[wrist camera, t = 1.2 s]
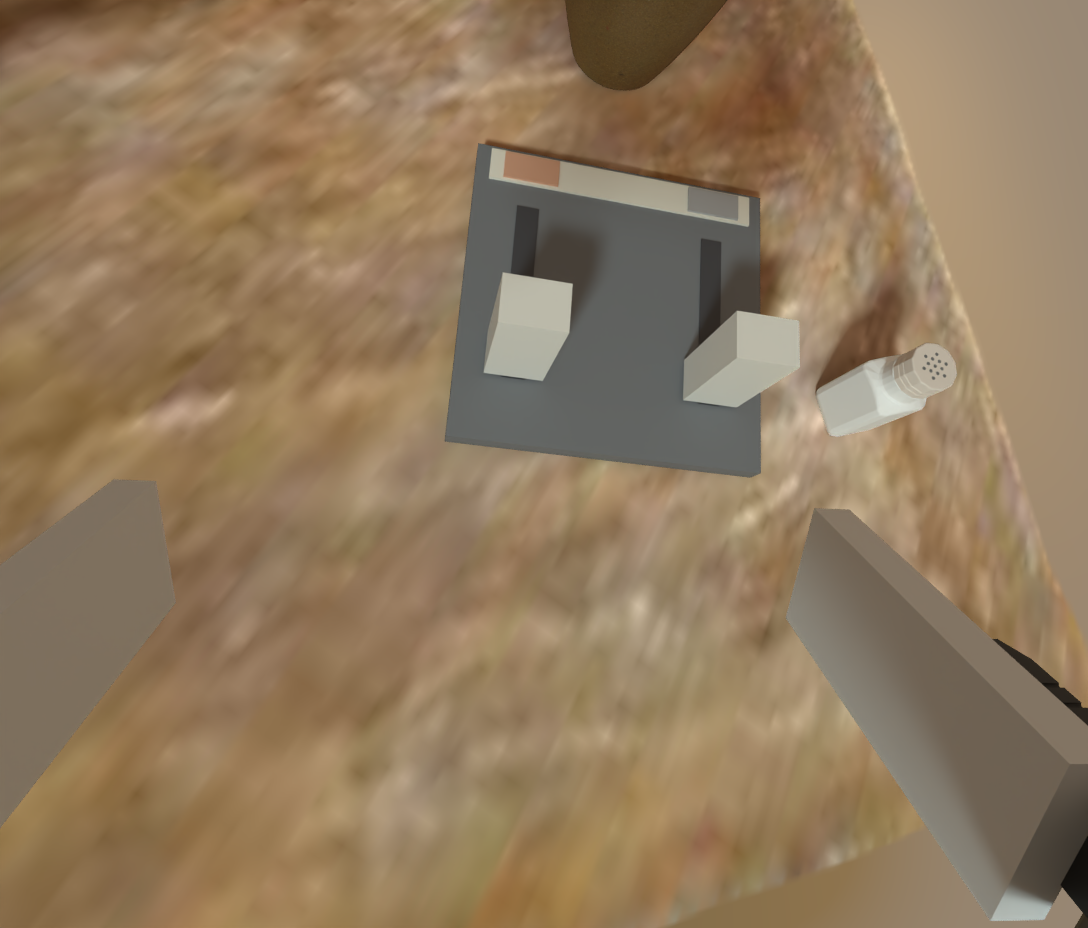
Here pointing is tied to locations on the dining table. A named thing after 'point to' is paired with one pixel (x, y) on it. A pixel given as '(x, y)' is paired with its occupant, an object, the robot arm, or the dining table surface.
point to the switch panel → (607, 313)
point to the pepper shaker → (885, 389)
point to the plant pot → (633, 36)
